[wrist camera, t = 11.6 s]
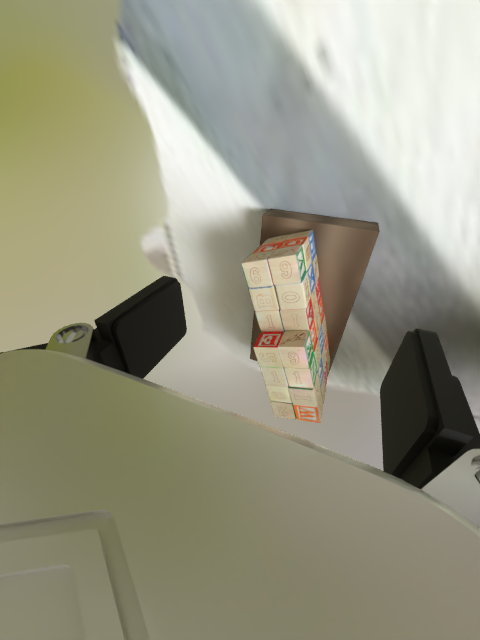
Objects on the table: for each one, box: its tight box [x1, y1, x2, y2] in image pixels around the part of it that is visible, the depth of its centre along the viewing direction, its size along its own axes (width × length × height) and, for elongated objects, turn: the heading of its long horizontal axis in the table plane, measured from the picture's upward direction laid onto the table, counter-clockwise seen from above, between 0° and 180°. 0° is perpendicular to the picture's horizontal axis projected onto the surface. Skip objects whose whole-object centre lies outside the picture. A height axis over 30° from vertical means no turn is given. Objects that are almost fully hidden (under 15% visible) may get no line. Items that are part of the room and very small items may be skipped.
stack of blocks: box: [242, 230, 330, 423], centre depth 33 cm, size 21×6×12 cm, turn 17°
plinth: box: [250, 209, 379, 376], centre depth 40 cm, size 14×26×4 cm, turn 178°
